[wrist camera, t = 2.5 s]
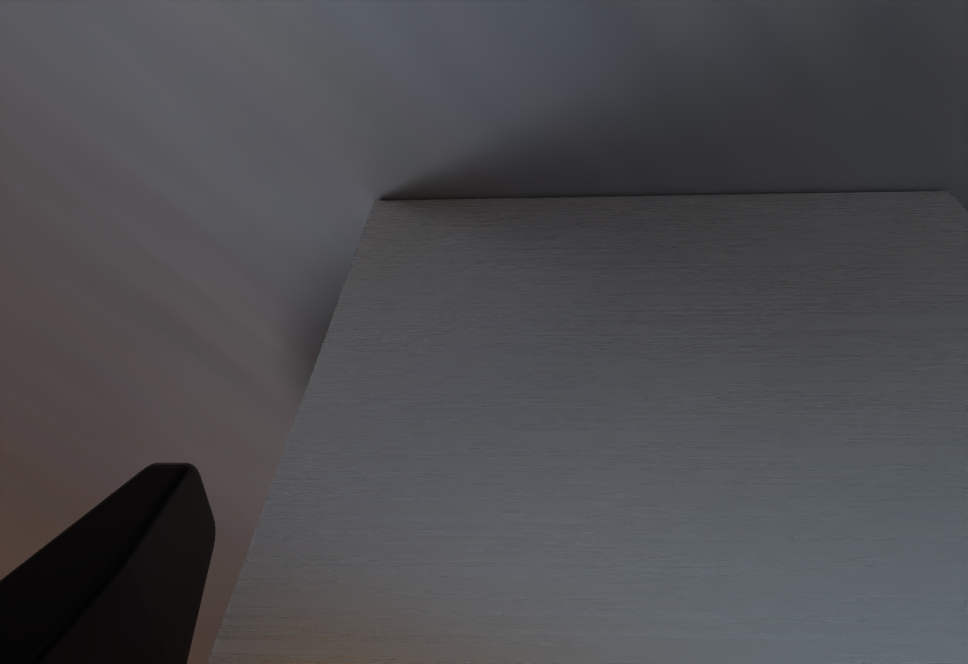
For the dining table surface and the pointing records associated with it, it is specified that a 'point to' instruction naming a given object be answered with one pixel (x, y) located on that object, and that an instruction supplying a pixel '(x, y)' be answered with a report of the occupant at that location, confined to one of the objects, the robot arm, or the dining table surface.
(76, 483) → the dining table surface
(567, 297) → the plain white cube
